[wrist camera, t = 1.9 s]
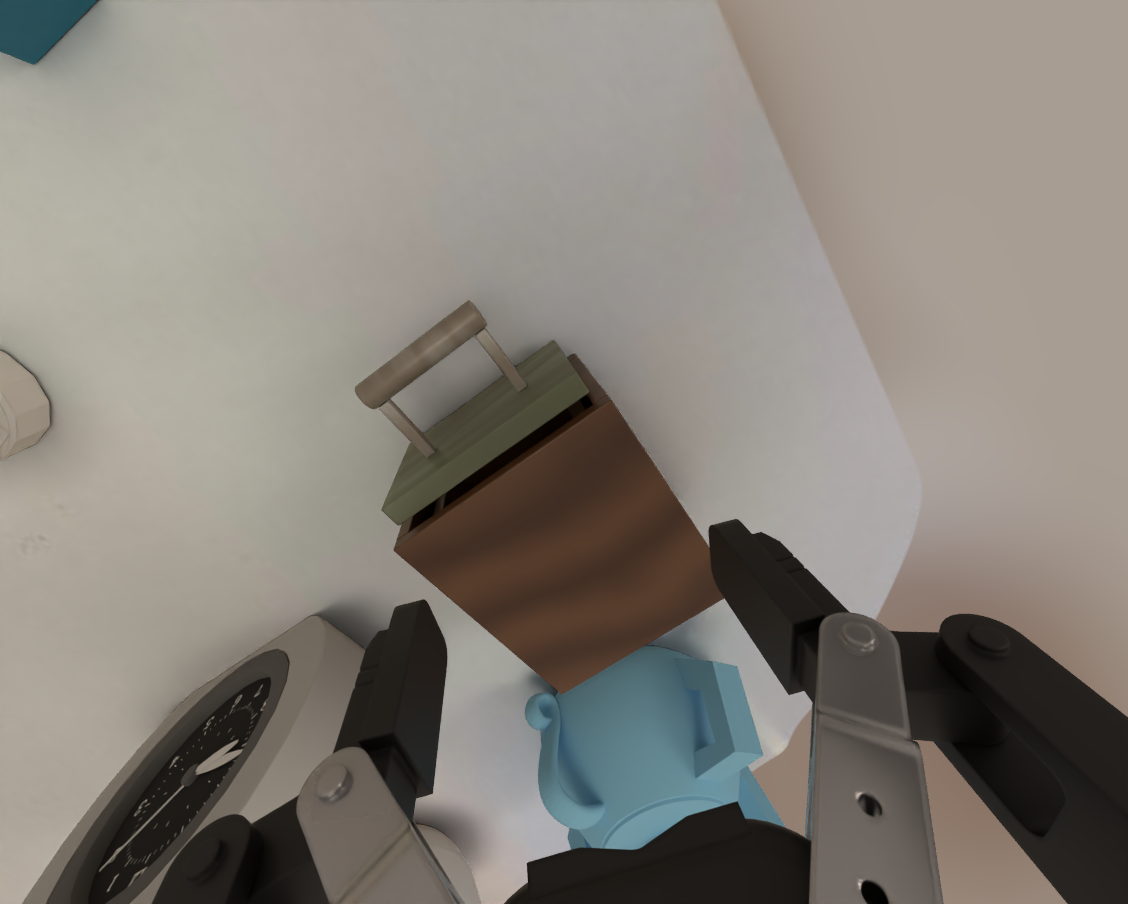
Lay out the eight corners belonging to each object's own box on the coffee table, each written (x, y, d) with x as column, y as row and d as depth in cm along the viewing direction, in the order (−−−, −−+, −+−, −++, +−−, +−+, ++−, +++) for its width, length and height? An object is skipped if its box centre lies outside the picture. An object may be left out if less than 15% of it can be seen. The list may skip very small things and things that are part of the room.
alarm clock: (353, 587, 33) (188, 985, 15) (420, 641, 36) (349, 1021, 18) (151, 719, 35) (-193, 1193, 18) (230, 758, 39) (6, 1193, 21)
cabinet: (422, 462, 29) (392, 550, 21) (574, 352, 28) (611, 399, 19) (545, 587, 36) (562, 695, 27) (676, 504, 34) (738, 590, 25)
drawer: (350, 384, 26) (297, 435, 19) (504, 266, 24) (508, 274, 17) (532, 570, 34) (542, 655, 27) (657, 489, 32) (702, 557, 25)
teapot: (562, 776, 47) (587, 964, 35) (504, 662, 39) (510, 857, 26) (729, 720, 47) (813, 886, 35) (708, 595, 39) (810, 756, 27)
